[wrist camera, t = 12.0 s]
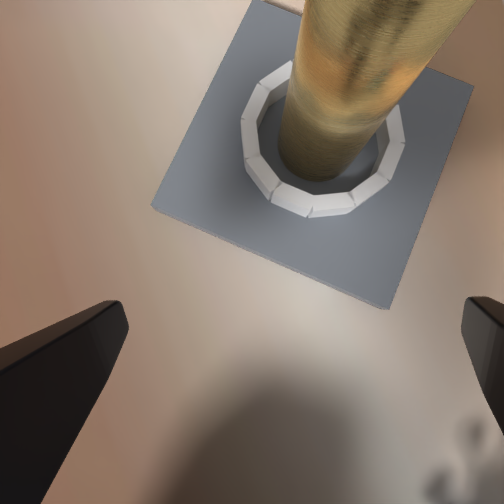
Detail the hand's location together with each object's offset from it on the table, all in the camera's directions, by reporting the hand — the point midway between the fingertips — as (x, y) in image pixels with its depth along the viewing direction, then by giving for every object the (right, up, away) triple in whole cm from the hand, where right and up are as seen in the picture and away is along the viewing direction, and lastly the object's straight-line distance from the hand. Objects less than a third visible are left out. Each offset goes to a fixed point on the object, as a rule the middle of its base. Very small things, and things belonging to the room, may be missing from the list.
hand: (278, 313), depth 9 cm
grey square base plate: (+3, +8, +12) cm, 14 cm away
